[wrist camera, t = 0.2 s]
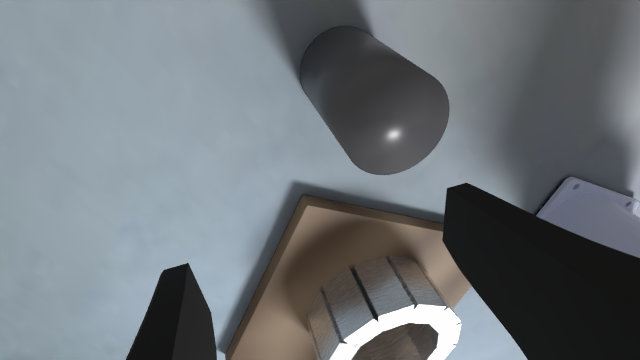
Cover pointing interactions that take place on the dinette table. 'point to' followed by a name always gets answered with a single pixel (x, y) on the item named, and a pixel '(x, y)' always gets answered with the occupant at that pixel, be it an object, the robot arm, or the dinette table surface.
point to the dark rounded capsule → (374, 100)
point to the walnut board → (332, 271)
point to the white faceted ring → (382, 314)
